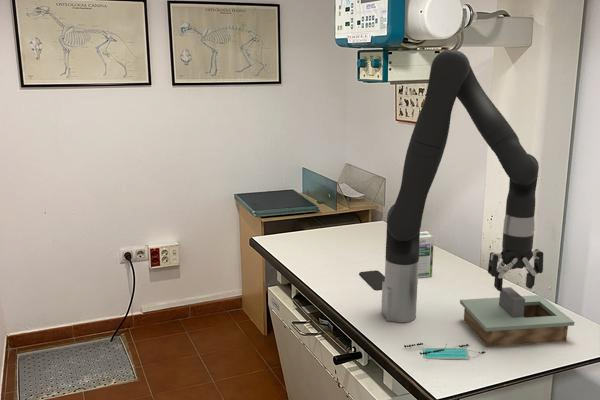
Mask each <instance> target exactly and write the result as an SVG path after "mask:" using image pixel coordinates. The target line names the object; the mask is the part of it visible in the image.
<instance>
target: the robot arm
mask: <svg viewBox="0 0 600 400" xmlns="http://www.w3.org/2000/svg"><path fill="white" fill-rule="evenodd" d="M470 63H471V62H470V60H469V59H468V56H467V55H466V54H464V53H463V52H462V51H459V50H457V49H445V50H443V51H440V52H439V53H438V54H437V55H436V56H435V57H434V59H433V60H432V62H431V65H430V71H429V78H428V84H427V88H426V92H425V93H426V94H425V97H424V101H423V104H422V107H421V109H420V111H419V113H418V117H417V119H416V122H415V124H414V127H413V131H412V133H411V135H410V136H411V137H410V139H409V142H408V146H407V149H406V154H405V158H404V162H403V164H404V165H403V169H402V175H401V176H402V178H401V183H400V188H399V190H398V191H399V192H398V194H397V197H396V199H395V202H394V204H392V205H391V207H390V208H389V209H388V212H387V214H386V215H387V216H386V237H385V238H386V240H385V266H384V276H385V281H383V282H382V290H381V307H380V308H381V309H380V311H381V313H382V315H383V317H384V318H385V319H384V320H386V322H387V321H388V322H395V323H408V322H409V323H410V322H412V321H414V320H415V319H416V316H417V302H418V301H417V298H418V284H419V283H418V281H419V280H418V279H419V278H418V266H419V239H420V232H421V228H422V220H423V215H424V210H425V205H426V202H427V198H428V194H429V192H430V190H431V187H432V185H433V182H434V180H435V177H436V174H437V172H438V169H439V167H440V164H441V161H442V158H443V156H444V152H445V150H446V149H445V148H446V146H447V142H448V137H449V132H450V124H451V118H452V113H453V108H454V105H455V102H456V99H458V101H459V102H460V104H462V106H463V107H464V109H465V110H466V112H467V113H468V115H469V117H470V119H471V121H472V122H473V124H474V126H475V128H476V129H477V131H478V133H479V134H480V135H481V137H482V138H483V140H484V142H486V144H487V145H488V147H489V148H490V149H491V150H492V152H494V154H495V156H496V157H497V159H498V161H499V163H500V165H501V167H502V169H503V171H504V172H505V174H506V176H507V177H508V178H509V180H508V181H509V182H508V184H509V185H508V186H509V187H508V192H507V197H506V203H505V204H506V205H505V216H504V219H503V230H502V231H503V232H502V244H501V247H502V248H501V249H502V251H501V252H500V253H499V252H498V253H495V252H493V251H492V252H490V253H489V259H488V267H487V273H488V274H490V275H491V277H493V278H494V279H493V280H494V284H493V286H494V288H495V289H496V290H497V291H498V292H500V291H502V288H503V280H504V278H503V277H504V276H505V274H506V273H509V271H510V270H515V269H523V268H524V269H525V270H526V271H527V273H526V278H525V287H526V288H527V289H529V290H531V289H533V287H534V286H535V280H536V275H537V274H542V273H543V271H544V252H543V251H541V250H540V249H538V248H536V249H534V250H533V247H534V236H535V223H536V221H535V214H536V213H535V212H536V191H537V184H538V178H539V177H538V176H539V170H540V169H539V168H540V166H539V162H538V160H537V158H536V156H533V155H532V154H529V153H528V152H527V151H526V150H525V148H524V147H523V145H521V144H522V143H520V139H519V136H518V134H517V133H516V131H515V129H513V127H512V126H511V124H510V123H509V122H508V121H507V119H506V118H505V116H504V115H503V114H502V112H501V111H500V110H499V109H498V108H497V107H496V105H495V104H494V102H493V101H492V100H491V99H490V98H489V96H488V95H487V93H486V92H485V90H484V89H483V87H482V85H481V84H480V83H479V82H480V81H478V79H477V77H476V75H475V73H474V70H473V68H472V66H471V64H470ZM532 258H533V266H532V264H531V263H530V261H531V259H532ZM500 260H501V261H500ZM498 262H499V263H498Z"/></svg>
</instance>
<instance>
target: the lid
mask: <svg viewBox="0 0 600 400" xmlns="http://www.w3.org/2000/svg"><path fill="white" fill-rule="evenodd" d="M459 304H460V305H461V306H462V307H463V308H464V309H466V310H467V311H468V312H469V313H470V314H471V316H472V317H473V318H474V319H475V320H476V321H477V322H478V323H479V324H480V325H481V326H482V328H483V329H484V330H485V331H499V330H514V329H529V328H544V327H559V326H568V327H570V326H575V323H576V322H575V321H574V320H573V319H571V318H570V317H569V316H568V315H567V314H566V313H564V312H562V311H561V310H560V309H559V308H558V307H556V306H555V305H554V304H552V303H551V302H550V301H549V300H548V299H547V298H545V297H544V296H543V295H542V294H536V295H520V294H519V292H518V291H516V290H514V288H512V287H509V286H507V287H502V291H499V296H498V297H485V298H466V299H459ZM526 305H540V306H541V307H543V308H544V309H545V310H546V311H547V312H549V313H550V314H551V315H552V316H544V317H529V318H525V317H524V306H526Z"/></svg>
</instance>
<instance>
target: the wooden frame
mask: <svg viewBox="0 0 600 400" xmlns="http://www.w3.org/2000/svg"><path fill="white" fill-rule="evenodd" d="M463 311H464V312H463V322H464V324H465V325H467V327H469V329H470V330H471V331H472V332H473V333H474V334H475V336H476V337H477V338H478V339H479V341H481V343H482V344H483V345H484V346H485V348H489V347H504V346H518V345H532V344H545V343H547V344H548V343H560V342H561V343H562V342H567V338H568V337H567V336H568V329H569V326H559V327H544V328H529V329H514V330H499V331H485V330H484V329H483V328H482V326H481V325H480V324H479V323H478V322H477V321H476V320H475V319H474V318H473V317H472V316H471V314H470V313H469V312H468V311H467V310H466V309H465V308H464V310H463ZM544 316H552V315H551V314H550V313H549V312H547V311H546V310H545V309H544V308H543V307H541V306H540V305H526V306H524V317H525V318H529V317H544Z"/></svg>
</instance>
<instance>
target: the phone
mask: <svg viewBox="0 0 600 400" xmlns="http://www.w3.org/2000/svg"><path fill="white" fill-rule="evenodd" d="M358 275H359V276H360V278H362V280H363V281H365V282H366V283H367V285H368V286H369V287H370V288H371V289H373V290H374V291H382V282H383V281H385V274H383V273H381V271H379V270H368V271H367V270H366V271H360V272H359V273H358Z"/></svg>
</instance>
